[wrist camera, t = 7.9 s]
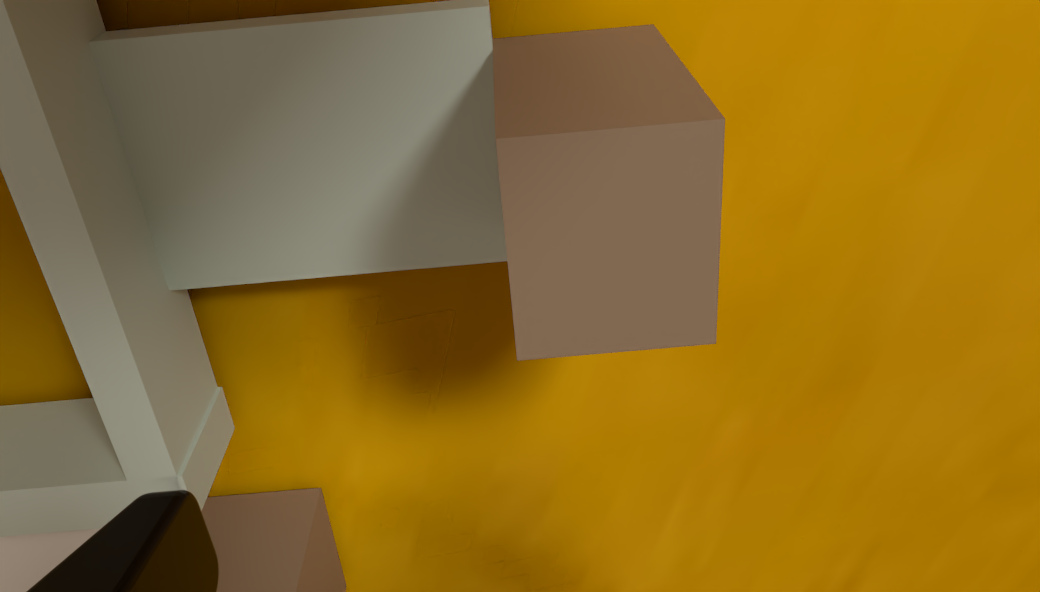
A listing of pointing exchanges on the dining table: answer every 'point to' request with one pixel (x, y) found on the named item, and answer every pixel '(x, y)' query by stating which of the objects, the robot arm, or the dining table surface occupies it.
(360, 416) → the dining table surface
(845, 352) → the dining table surface
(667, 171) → the tray
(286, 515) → the cream lane
